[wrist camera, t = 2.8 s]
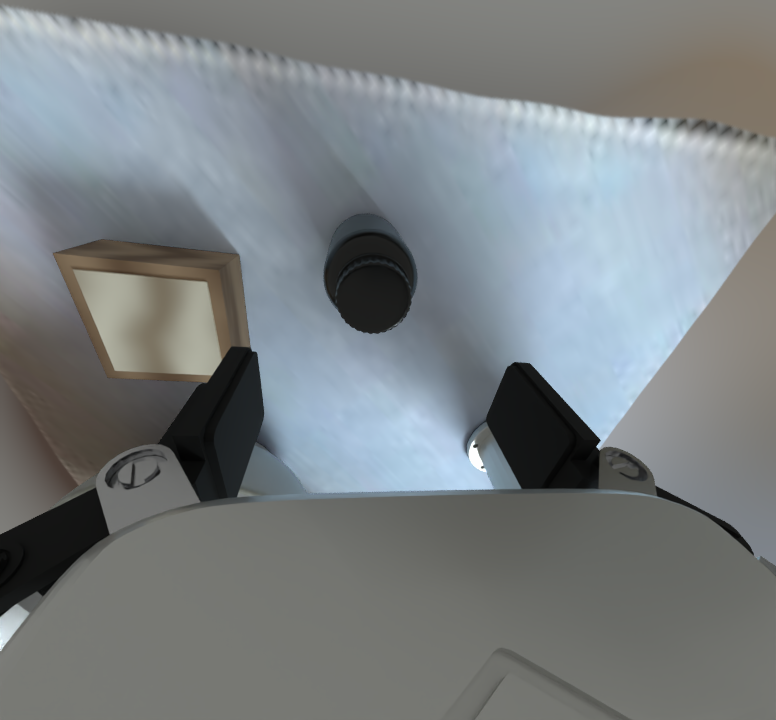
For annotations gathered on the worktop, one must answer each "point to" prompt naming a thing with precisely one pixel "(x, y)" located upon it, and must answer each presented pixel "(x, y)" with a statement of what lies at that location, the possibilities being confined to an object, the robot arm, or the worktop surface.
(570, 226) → the worktop surface
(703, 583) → the robot arm
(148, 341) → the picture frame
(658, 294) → the worktop surface
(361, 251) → the supplement bottle
